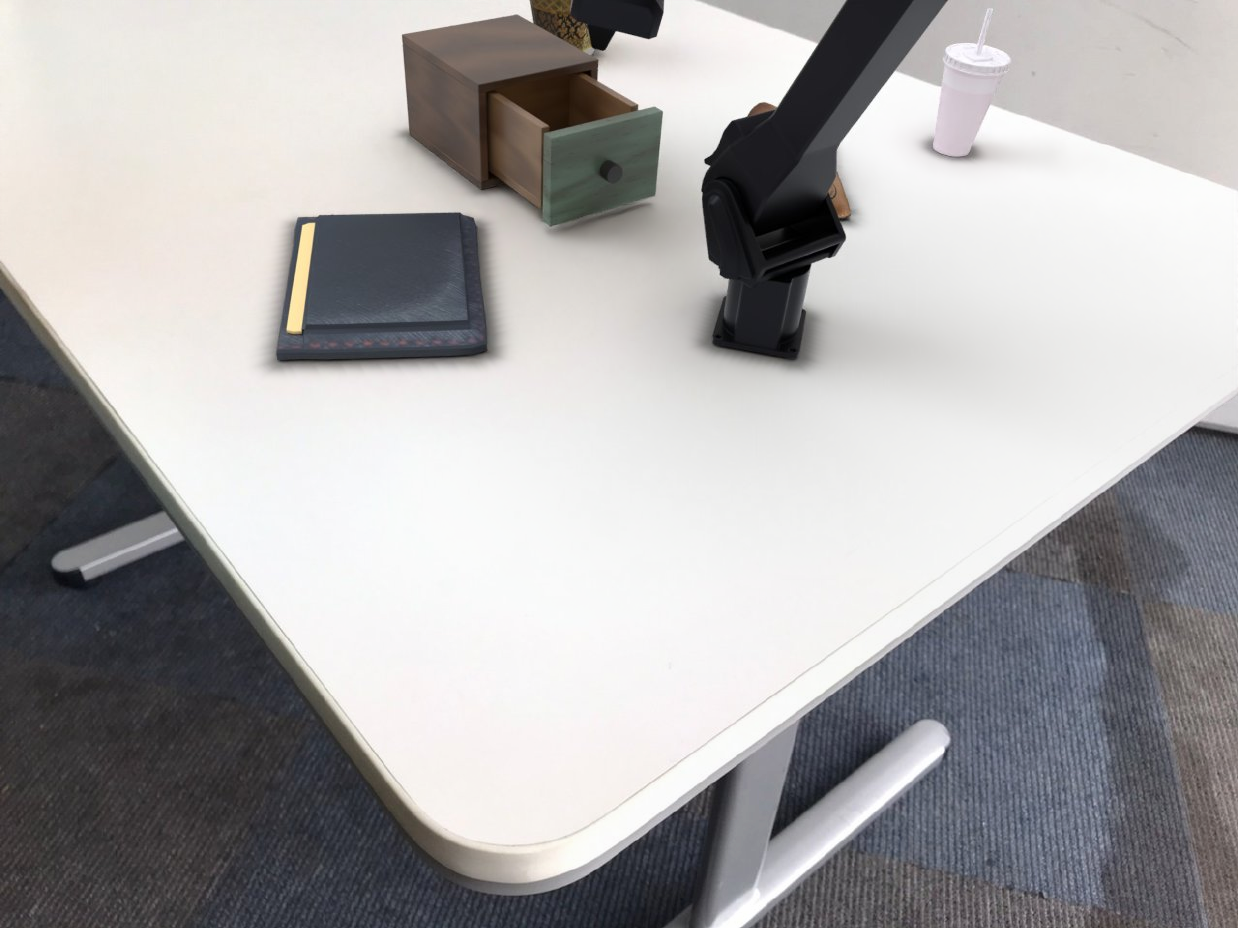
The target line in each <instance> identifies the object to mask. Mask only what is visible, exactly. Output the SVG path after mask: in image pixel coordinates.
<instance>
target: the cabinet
mask: <svg viewBox="0 0 1238 928" xmlns="http://www.w3.org/2000/svg"><path fill="white" fill-rule="evenodd" d="M401 42H402V54H403V55H402V56H403V67H404V80H405V81H404V83H405V93H406V94H405V96H406V106H407V118H408V119H407V120H408V131H409V132H408V133H409V136H411V137H412V138H413V139H414V140H416V141H417V142H419V143H420V144H421V145H423V146H424V147H425V148H426V149H428V150H429V151H430V152H431V153H433V154H434V155H435V156H437V157H438V158H439V159H441V161H443V162H445V163H446V164H447V165H449V166H450V167H451V168H452V169H454V170H455V171H456V172H457V173H459V174H460V175H462V177H464V178H465V179H467V180H468V181H469V182H470V183H472V184H473V185H475V186H476V187H477V188H478V189H479V190H481V191H482V190H486V189H491V188H494V187H497V186H502V185H505V184H506V183H505V182H503V181H502V180H501V179H499V178H498V177H497V176H495V175H494V174H493V173H491V172H490V171H489V170H488V148H487V109H486V92H489V91H493V90H498V89H503V88H508V87H512V86H517V85H522V84H526V83H531V82H536V81H540V80H545V79H550V78H555V77H559V76H564V75H569V74H573V73H578V72H583V73H585V74H586V75H588V76H590V77H592V78H593V79H595V80H597V81H598V82H599V79H598V78H599V59H598V58H596V57H594V56H593V55H589V54H587V53H585V52H584V51H582V50H580V49H578V48H576V47H575V46H573V45H571V44H569V43H568V42H566V41H564V40H562V39H560V38H559V37H557V36H555V35H553V34H551V33H550V32H548V31H546V30H544V29H542V28H541V27H539V26H537V25H535V24H534V23H533V21H530V20H528V19H526V18H524V17H523V16H521V15H519V14H510V15H505V16H501V17H494V18H488V19H483V20H477V21H471V22H466V23H460V24H454V25H453V24H452V25H449V26H441V27H437V28H430V29H425V30H420V31H419V30H418V31H414V32H409V33H408V32H407V33H403V34H401Z"/></svg>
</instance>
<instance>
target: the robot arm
mask: <svg viewBox="0 0 1238 928" xmlns="http://www.w3.org/2000/svg"><path fill="white" fill-rule="evenodd" d="M948 1H949V0H845V1H844V3H843V5H842V6H841V7H840V9H839V11H838V12H837V13H836V16H834V18H833V20H832V21H831V22H830V25H829V26H828V28H827V30H826V31H825V33H824V34H823V35H822V37H821V39H820V40H819V42H818V43H817V45H816V46H815V48H814V49H813V51H812V52H811V54H810V56H809V57H808V59H807V60H806V62H805V63H804V65H803V66H802V68H801V70H800V71H799V73H798V74H797V76H795V79H794V81H792V84H791V85H790V87H789V88H788V90H787V91H786V93H785V94H784V95H783V97H782V99H781V101H780V102H779V103H778V105H777V106H776V107H777V108H776V109H774V110H770V111H766V112H762V113H759V114H755V115H751V116H748V115H747V116H745V117H740V118H736V119H732V120H731V121H730V122H729V123H728V125H727V126H726V127H725V128H724V130H723V132H722V135H721V137H720V140H719V142H718V144H717V146H716V149H715V150H713V152H712V153H711V154H710V155H709V156H707V157H705V158H704V160H703V163H704V164H705V165H707V166H709V167H708V169H707V170H706V171H705V173H704V176H703V179H702V184H701V188H700V191H701V193H702V195H701V205H702V215H703V223H704V233H705V240H706V241H705V242H706V247H707V248H706V249H707V258H708V260H709V261H710V262H711V263H713V264H714V265H715V266H717V268H718V270H719V274H718V275H719V276H720V277H722V278H723V279H726V280H728V284H727V291H726V295H725V296H724V297H723V299H722V302H721V305H720V309H719V312H718V315H717V318H716V322H715V326H714V329H713V332H712V336H711V342H712V344H714V345H715V346H721V347H725V348H732V349H735V350H742V351H748V352H754V353H757V354H758V353H759V354H764V355H769V356H770V355H771V356H774V357H775V356H776V357H781V358H787V359H793V360H794V359H797V358H799V355H800V351H801V344H802V338H803V334H804V333H803V332H804V326H805V323H806V322H805V321H806V317H807V316H806V315H807V310H806V309H805V308H803V307H804V301H805V298H806V293H807V288H808V284H809V283H808V282H809V278H810V275H811V269H812V264H815V263H817V262H820V261H822V260H826V259H832V258H834V257H836V256H837V254H838V253H839V251H840V249H841V248H842V246H843V245H844V243H845V242H846V240H847V235H846V232H845V230H844V227H843V224H842V222H841V219H839V217H838V214H837V212H836V209H835V207H834V204H833V202H832V199H831V197H830V194H829V192H828V191H829V189H830V187H831V186H832V184H833V182H834V180H835V178H836V173H837V172H838V149H839V147H840V145H841V143H843V141H844V139H845V138H846V136H847V135H849V133H850V131H851V130H852V129H853V128H854V126H855V125H856V124H857V122H858V121H859V119H860V118H861V117H862V115H863V114H864V113H865V111H866V110H867V109H868V107H869V106H870V105H871V104H872V103H873V102H874V99H876V97H877V95H878V94H879V93H880V92H881V90H882V89H883V88H884V86H885V85H886V83H887V82H888V81H889V79H890V78H891V77H892V75H893V74H894V73H895V72H896V70H897V69H898V67H899V66H900V65H901V64H902V62H903V61H904V59H905V58H906V57H907V56H908V54H909V53H910V52H911V50H912V49H913V47H914V46H915V45H916V44H917V42H919V39H920V38H921V37H922V36H923V34H924V33H925V31H926V30H927V29H928V28H929V26H930V25H931V24H932V23H933V22H934V20H935V19H936V17H937V16H938V15H939V13H940V12H941V10H942V9H943V8H944V7H945V5H946V4H947V2H948ZM664 10H665V0H572V1H571V9H570V16H571V17H572V18H573V19H575V20H576V21H577V22H581V23H585V24H587V27H588V32H589V37H590V42H591V47H592V48H593V49H594V50H597V51H600V52H604V51H606V50H607V48H608V46H609V45H610V43H611V41H612V39H613V37H614V36H615V34H616V33H620V34H625V35H629V36H634V37H638V38H641V39H645V40H651V39H654V38H657V37H658V34H659V30H660V27H661V24H662V20H663V16H664V14H665V13H664V12H665V11H664Z"/></svg>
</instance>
